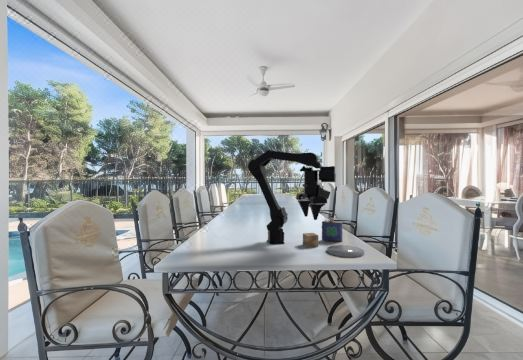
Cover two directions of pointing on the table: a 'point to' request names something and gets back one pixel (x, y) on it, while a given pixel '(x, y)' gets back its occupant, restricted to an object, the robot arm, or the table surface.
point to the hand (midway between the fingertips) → (310, 218)
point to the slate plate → (345, 251)
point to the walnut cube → (310, 240)
